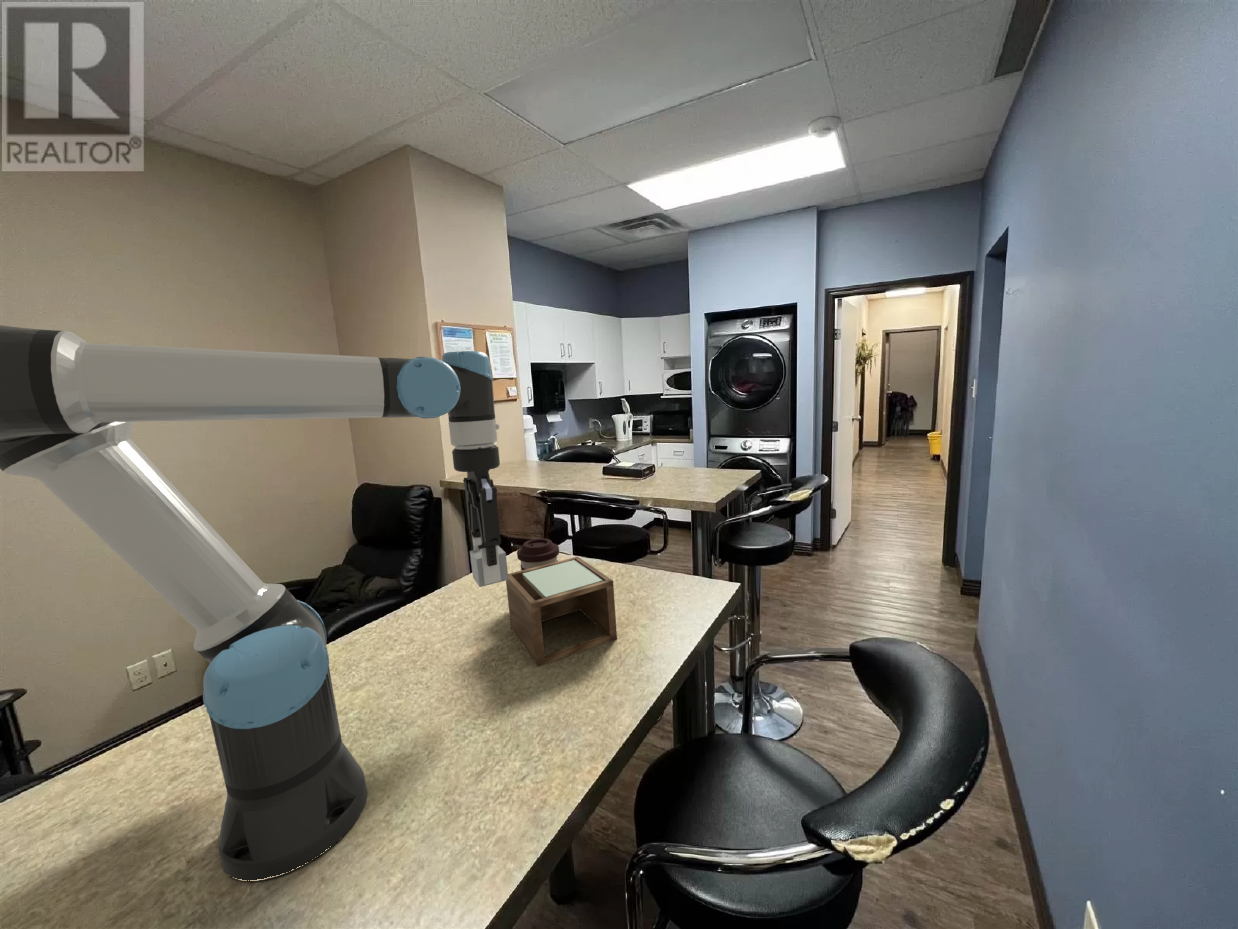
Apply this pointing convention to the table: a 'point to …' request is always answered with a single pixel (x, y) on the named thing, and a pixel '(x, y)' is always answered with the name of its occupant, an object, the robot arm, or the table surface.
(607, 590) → the box frame
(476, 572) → the block
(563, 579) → the trapdoor
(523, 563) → the coffee cup
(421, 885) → the table surface
